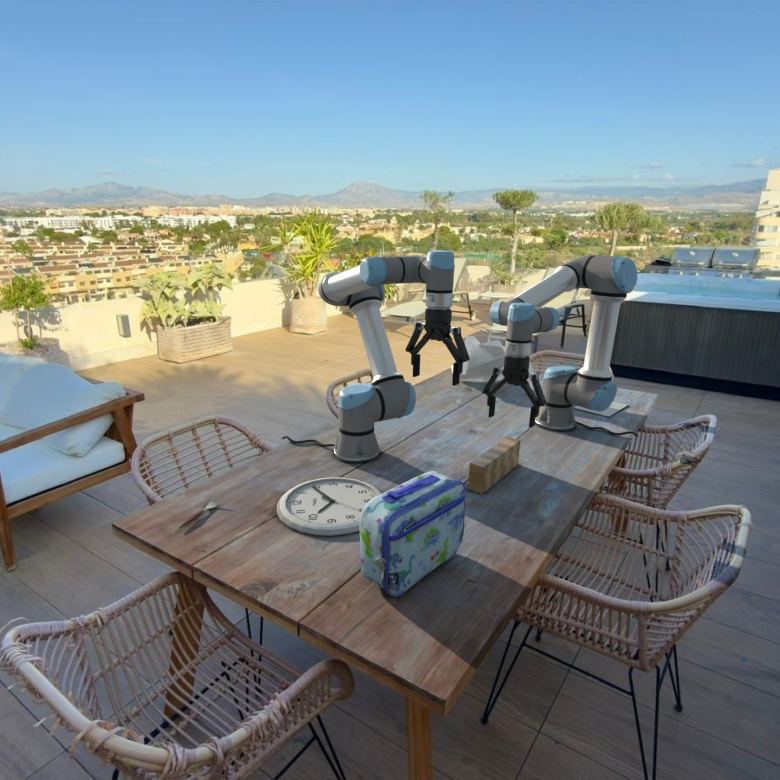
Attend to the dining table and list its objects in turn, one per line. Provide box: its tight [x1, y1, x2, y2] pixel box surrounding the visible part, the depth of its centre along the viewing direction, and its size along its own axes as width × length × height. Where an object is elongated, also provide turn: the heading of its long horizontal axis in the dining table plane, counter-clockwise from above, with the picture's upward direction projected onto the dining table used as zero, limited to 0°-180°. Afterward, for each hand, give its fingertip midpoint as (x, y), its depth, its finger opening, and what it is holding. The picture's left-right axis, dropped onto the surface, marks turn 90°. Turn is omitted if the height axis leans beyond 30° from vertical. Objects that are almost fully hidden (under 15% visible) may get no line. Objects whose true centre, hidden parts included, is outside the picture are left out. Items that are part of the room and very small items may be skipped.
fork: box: [178, 493, 223, 529], centre depth 137 cm, size 3×16×2 cm, turn 160°
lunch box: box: [358, 470, 466, 598], centre depth 113 cm, size 26×11×21 cm, turn 135°
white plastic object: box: [450, 335, 535, 393], centre depth 253 cm, size 37×45×31 cm
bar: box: [467, 436, 521, 495], centre depth 160 cm, size 25×5×8 cm, turn 143°
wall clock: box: [276, 476, 384, 537], centre depth 142 cm, size 30×2×30 cm
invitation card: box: [573, 400, 629, 418], centre depth 226 cm, size 21×1×15 cm
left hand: (435, 380), depth 153 cm, fingers open, 13 cm apart
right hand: (511, 421), depth 164 cm, fingers open, 13 cm apart
